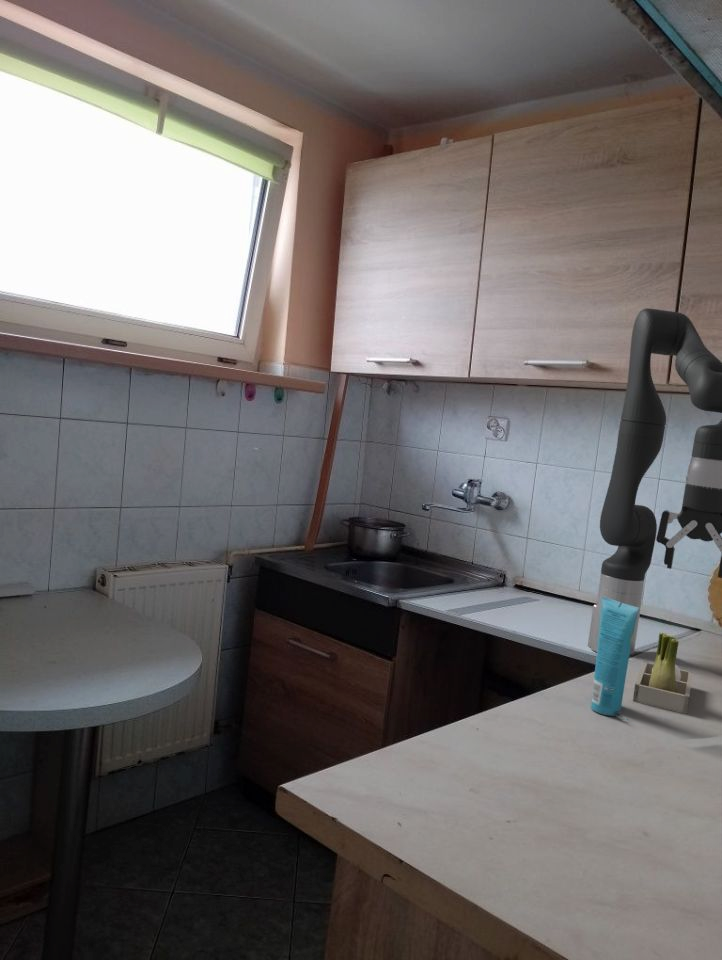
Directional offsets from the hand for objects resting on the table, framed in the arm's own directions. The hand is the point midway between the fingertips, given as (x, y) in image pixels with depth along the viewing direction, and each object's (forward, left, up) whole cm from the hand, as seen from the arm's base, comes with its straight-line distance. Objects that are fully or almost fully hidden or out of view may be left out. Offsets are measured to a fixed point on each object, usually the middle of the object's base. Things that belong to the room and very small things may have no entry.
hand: (694, 572), depth 138 cm
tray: (-2, -2, -24) cm, 24 cm away
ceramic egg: (-4, +2, -23) cm, 24 cm away
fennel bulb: (+1, -5, -24) cm, 24 cm away
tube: (+1, -18, -25) cm, 30 cm away
